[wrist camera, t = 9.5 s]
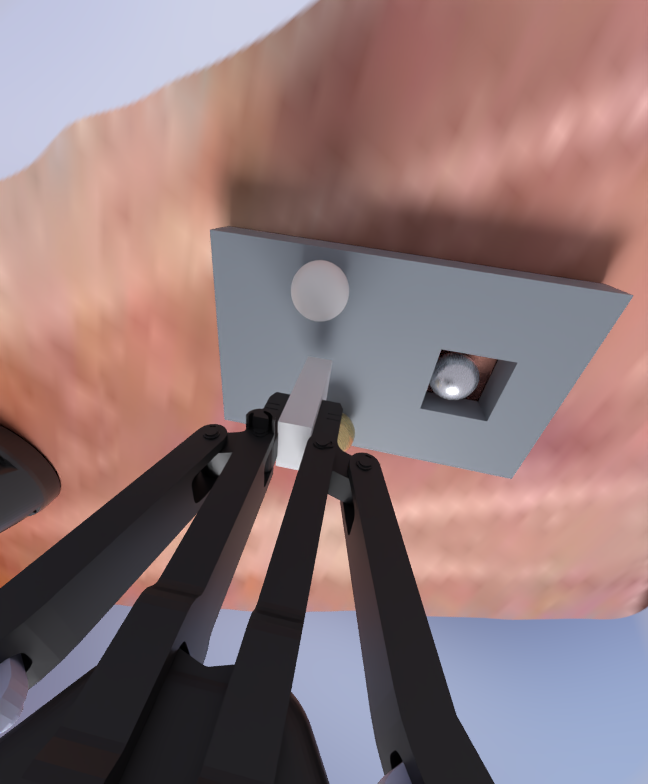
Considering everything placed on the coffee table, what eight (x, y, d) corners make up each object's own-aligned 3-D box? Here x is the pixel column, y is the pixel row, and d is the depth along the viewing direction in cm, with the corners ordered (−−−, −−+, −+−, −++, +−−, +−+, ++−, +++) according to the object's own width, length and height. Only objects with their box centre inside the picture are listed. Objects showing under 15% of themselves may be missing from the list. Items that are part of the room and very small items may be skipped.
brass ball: (313, 431, 24) (304, 459, 22) (317, 397, 23) (307, 424, 20) (352, 439, 24) (348, 469, 22) (360, 406, 22) (356, 434, 20)
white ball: (296, 306, 19) (282, 324, 17) (300, 251, 18) (285, 261, 15) (347, 315, 19) (340, 334, 16) (356, 260, 17) (350, 271, 15)
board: (237, 402, 28) (224, 419, 25) (228, 226, 20) (209, 229, 18) (501, 455, 26) (511, 478, 24) (605, 284, 18) (633, 295, 16)
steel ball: (418, 399, 21) (467, 415, 20) (433, 357, 19) (487, 372, 18) (426, 379, 24) (470, 392, 23) (440, 340, 22) (487, 353, 21)
